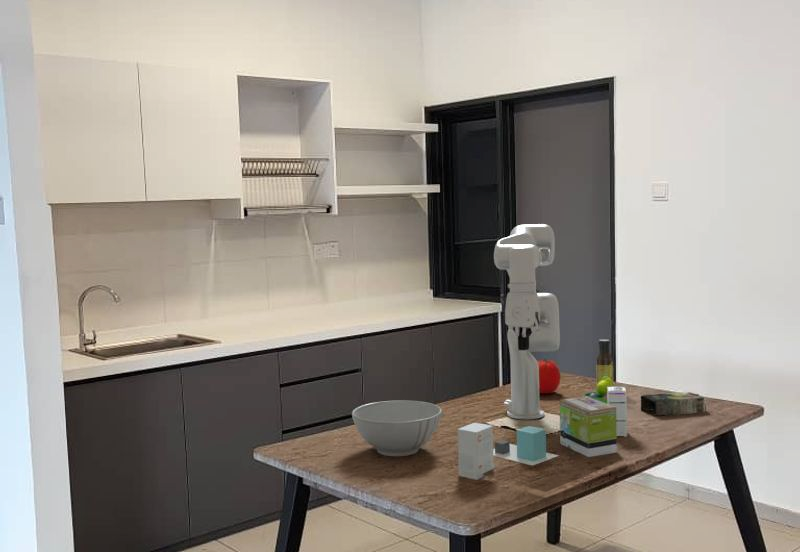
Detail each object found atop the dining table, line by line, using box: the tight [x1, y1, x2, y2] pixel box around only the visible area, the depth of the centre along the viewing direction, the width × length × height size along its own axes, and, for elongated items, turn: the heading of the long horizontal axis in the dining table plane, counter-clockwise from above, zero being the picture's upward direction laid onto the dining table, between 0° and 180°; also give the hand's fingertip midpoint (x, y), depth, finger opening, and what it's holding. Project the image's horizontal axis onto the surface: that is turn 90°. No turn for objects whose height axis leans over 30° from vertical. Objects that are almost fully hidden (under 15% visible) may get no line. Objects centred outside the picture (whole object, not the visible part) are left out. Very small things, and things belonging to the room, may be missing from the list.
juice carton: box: [640, 391, 707, 417], centre depth 287 cm, size 20×10×6 cm, turn 104°
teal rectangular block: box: [516, 425, 547, 461], centre depth 236 cm, size 6×6×8 cm
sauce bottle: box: [595, 339, 615, 392], centre depth 318 cm, size 6×6×20 cm
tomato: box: [537, 358, 561, 395], centre depth 319 cm, size 12×12×13 cm
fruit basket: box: [582, 376, 612, 404], centre depth 292 cm, size 11×9×11 cm
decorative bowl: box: [351, 399, 443, 457], centre depth 250 cm, size 27×27×12 cm
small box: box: [456, 422, 495, 481], centre depth 226 cm, size 8×6×13 cm
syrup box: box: [607, 386, 628, 438], centre depth 261 cm, size 6×6×14 cm
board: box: [493, 439, 560, 466], centre depth 240 cm, size 18×12×4 cm, turn 43°
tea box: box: [559, 396, 618, 458], centre depth 243 cm, size 15×10×15 cm, turn 22°
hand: (523, 349), depth 250 cm, fingers closed
